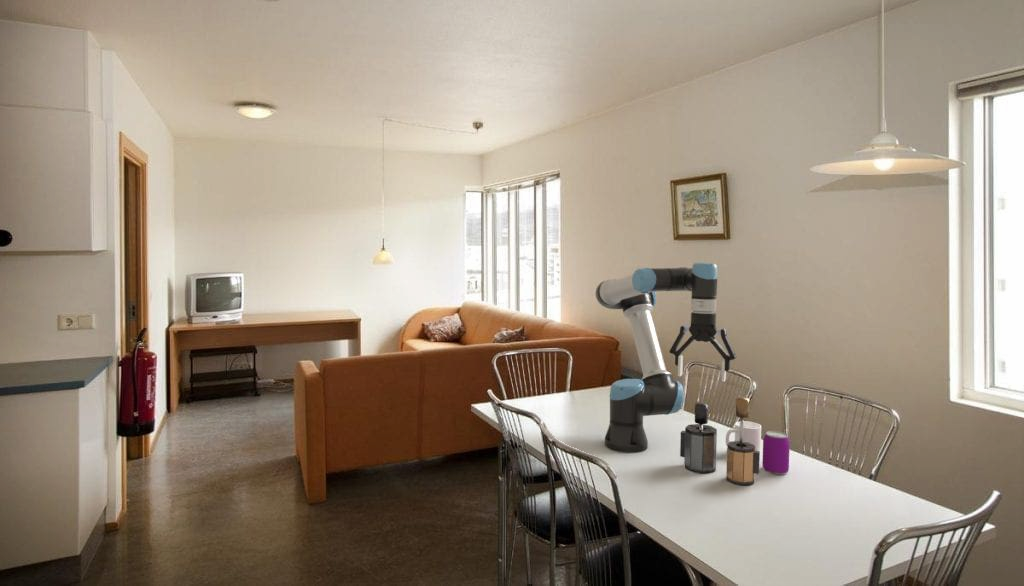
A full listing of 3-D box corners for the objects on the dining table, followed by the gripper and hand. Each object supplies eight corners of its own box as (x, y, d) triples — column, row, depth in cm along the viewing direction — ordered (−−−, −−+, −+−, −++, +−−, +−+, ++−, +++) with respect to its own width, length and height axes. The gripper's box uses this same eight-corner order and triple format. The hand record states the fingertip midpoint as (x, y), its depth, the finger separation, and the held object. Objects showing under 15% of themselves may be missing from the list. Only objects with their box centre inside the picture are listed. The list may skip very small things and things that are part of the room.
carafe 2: (723, 482, 180) (724, 446, 179) (729, 473, 187) (730, 439, 186) (755, 488, 175) (757, 452, 174) (760, 479, 182) (761, 444, 181)
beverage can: (768, 464, 194) (769, 428, 193) (792, 471, 189) (793, 434, 188) (758, 470, 189) (759, 433, 188) (782, 477, 183) (784, 439, 182)
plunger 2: (730, 456, 180) (731, 398, 178) (733, 451, 184) (735, 395, 183) (748, 460, 177) (750, 401, 176) (751, 454, 181) (753, 397, 180)
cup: (765, 457, 201) (766, 428, 200) (730, 458, 200) (731, 429, 199) (752, 449, 209) (753, 420, 208) (720, 450, 208) (720, 421, 207)
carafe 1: (676, 469, 190) (677, 429, 189) (684, 459, 199) (685, 421, 198) (711, 475, 185) (712, 434, 184) (718, 466, 193) (719, 426, 192)
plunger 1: (687, 461, 190) (688, 404, 189) (692, 455, 196) (693, 400, 194) (708, 465, 187) (709, 407, 185) (713, 459, 192) (714, 402, 191)
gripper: (660, 310, 191) (659, 375, 193) (742, 315, 178) (740, 385, 180) (667, 308, 197) (666, 371, 199) (747, 313, 184) (745, 380, 186)
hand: (701, 378), depth 189 cm, fingers open, 13 cm apart
